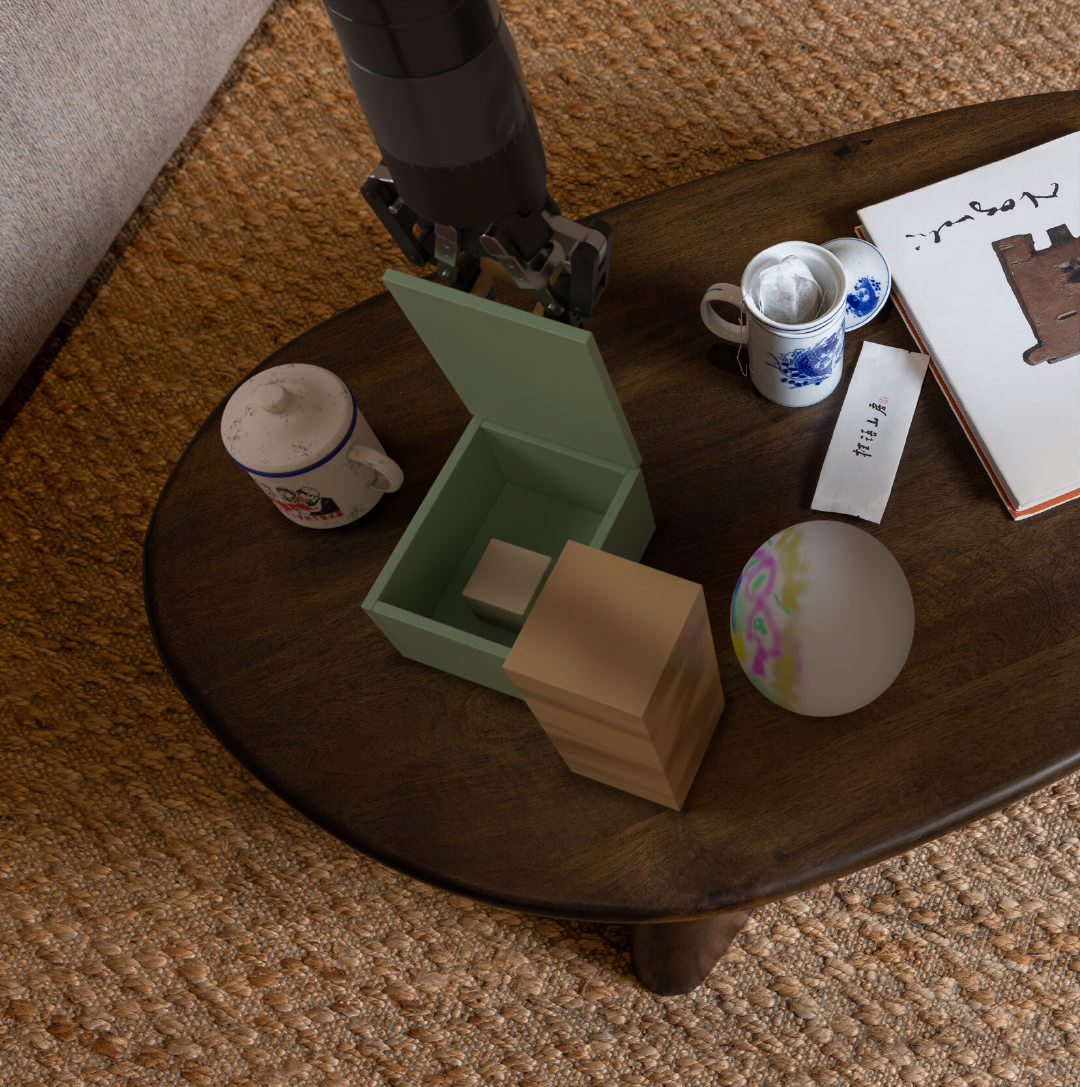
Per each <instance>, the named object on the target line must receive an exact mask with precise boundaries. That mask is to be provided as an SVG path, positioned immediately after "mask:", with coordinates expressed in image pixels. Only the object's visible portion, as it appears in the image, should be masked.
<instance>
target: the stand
mask: <svg viewBox="0 0 1080 1087" xmlns="http://www.w3.org/2000/svg"><path fill="white" fill-rule="evenodd" d="M712 634H713V633H712V630H711V623H710V619H709V613H708V609H707V602H706V599H705V593H704V587H703V585H702V584H700V583H697V582H694V581H691V580H689V579H685V578H683V577H679V576H677V575H675V574H671V573H668V572H666V571H662V570H659V569H658V568H657V569H656V568H653V567H650V566H648V565H645V564H642V563H640V562H639V563H636V562H633V561H630V560H627V559H624V558H622V557H619V556H616V555H613V554H610V553H607V552H604V551H601V550H598V549H595V548H592V547H589V546H587V545H584V544H581V543H578V542H575V541H572V540H568V542H567V544H566V546H565V547H564V549H563V551H562V553H561V555H560V557H559V559H558V561H557V563H556V565H555V567H554V569H553V570H552V572H551V574H550V576H549V578H548V580H547V582H546V584H545V586H544V588H543V590H542V592H541V593H540V595H539V597H538V599H537V601H536V603H535V605H534V607H533V609H532V611H531V613H530V615H529V616H528V618H527V620H526V622H525V624H524V626H523V628H522V630H521V632H520V634H519V636H518V638H517V639H516V641H515V643H514V645H513V647H512V649H511V651H510V653H509V655H508V657H507V659H506V661H505V663H504V664H503V668H504V670H505V671H506V673H507V674H508V676H509V678H510V679H511V681H512V682H513V684H514V685H515V687H516V688H517V690H518V691H519V693H520V694H521V696H522V697H523V699H524V700H523V701H524V702H525V704H526V705H527V706H528V708H529V710H530V711H531V713H532V714H533V716H534V717H535V719H536V721H537V722H538V724H539V725H540V726H541V727H542V729H543V731H544V733H545V734H546V735H547V737H548V739H549V740H550V741H551V743H552V744H553V746H554V748H555V749H556V751H557V752H558V753H559V755H560V756H561V758H562V759H563V761H564V762H565V764H566V765H567V767H568V769H569V771H570V772H573V773H575V774H577V775H580V776H583V777H585V778H588V779H591V780H594V781H596V782H599V783H602V784H604V785H607V786H610V787H613V788H615V789H618V790H620V791H623V792H626V793H629V794H631V795H634V796H636V797H639V798H643V799H644V800H648V801H650V802H653V803H656V804H658V805H661V806H664V807H666V808H669V809H671V810H675V811H677V812H681V810H682V808H683V806H684V803H685V801H686V799H687V796H688V794H689V792H690V789H691V787H692V785H693V782H694V779H695V778H696V775H697V773H698V770H699V768H700V765H701V763H702V761H703V759H704V756H705V753H706V751H707V749H708V747H709V744H710V742H711V739H712V737H713V735H714V733H715V730H716V728H717V725H718V724H719V721H720V718H721V716H722V713H723V711H724V709H725V706H726V701H725V695H724V690H723V686H722V680H721V676H720V670H719V665H718V660H717V655H716V649H715V644H714V640H713V635H712Z"/></svg>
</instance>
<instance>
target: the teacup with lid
mask: <svg viewBox="0 0 1080 1087" xmlns="http://www.w3.org/2000/svg"><path fill="white" fill-rule="evenodd" d="M224 408H225V409H224V410H223V414H222V417H221V422H220V435H221V440H222V444H223V447H224V449H225V451H226V453H227V455H228V456H229V457H230V458H229V459H231V460H232V461H233V462H234V463H235V464H236V465H237V466H238V467H240V468H241V469H243V470H244V471H246V472H247V473H248V475H249V476H250V477H251V478H252V480H254V482H255V483H256V484H257V485H258V486H259V488H261V490H262V491H263V492H264V494H265V495H267V497H268V498H269V499H270V500H271V502H272V503H273V504H274V505H275V506H276V507H277V509H278V510H279V511H280V512H281V513H282V514H283V515H284V516H285V517H286V518H287V519H289V520H290V521H292V522H294V523H295V524H297V525H300V526H302V527H306V528H311V529H319V530H320V529H322V530H323V529H333V528H338V527H342V526H345V525H348V524H350V523H353V522H355V521H357V520H359V519H361V518H362V517H363V516H364V515H366V514H368V513H369V512H370V511H371V510H372V509H373V508H375V507H376V505H377V504H378V502H380V500H381V499H382V497H383V495H384V493H394V492H396V491H398V490H399V489H400V488H401V486H402V484H403V483H404V480H405V479H404V478H405V476H404V471H403V469H401V467H400V466H399V465H398V463H397V462H396V461H395V460H393V459H392V458H391V457H389V456H388V455H387V452H386V451H385V449H384V447H383V445H382V444H381V443H380V441H379V439H378V437H377V435H375V433H374V431H373V430H372V428H371V427H370V424H369V423H368V421H367V420H366V418H365V417H364V415H363V413H362V412H361V410H360V409H359V407H358V405H357V401H356V397H355V395H354V393H353V390H352V389H351V387H350V386H349V384H348V383H347V382H345V380H344V379H342V378H341V377H340V376H339V375H338V374H335V373H334V372H332V371H331V370H329V369H327V368H324V367H321V366H318V365H314V364H308V363H287V364H281V365H277V366H272V367H271V368H268V369H265V370H263V371H261V372H259V373H257V374H255V375H253V376H251V377H250V378H249V379H247V380H246V381H245V382H244V383H242V384H241V386H239V387H238V388H237V390H236V391H234V393H233V394H232V395H231V397H230V398H229V399H228V402H227V404H226V406H225V407H224Z"/></svg>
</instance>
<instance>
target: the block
mask: <svg viewBox="0 0 1080 1087" xmlns="http://www.w3.org/2000/svg"><path fill="white" fill-rule="evenodd" d="M554 567H555V563H554V561H553V558H552V557H549V556H546V555H543V554H540V553H537V552H534V551H531V550H528V549H525V548H522V547H519V546H516V545H513V544H510V543H507V542H504V541H501V540H498V539H495V538H492V539H491V541H490V543H489V544H488V546H487V548H486V550H485V552H484V554H483V556H482V557H481V559H480V561H479V563H478V565H477V567H476V568H475V570H474V572H473V574H472V576H471V578H470V580H469V581H468V583H467V585H466V587H465V589H464V591H463V593H462V596H463V597H464V599H465V600H466V602H467V603H468V605H469V607H470V608H471V610H472V611H473V613H474V614H475V616H476V617H477V619H478V620H479V621H481V622H484V623H487V624H490V625H493V626H496V627H499V628H502V629H505V630H507V631H510V632H513V633H516V634H520V632H521V630H522V628H523V626H524V624H525V622H526V620H527V618H528V616H529V615H530V613H531V611H532V609H533V607H534V605H535V603H536V601H537V599H538V597H539V595H540V593H541V592H542V590H543V588H544V586H545V584H546V582H547V580H548V578H549V576H550V574H551V572H552V570H553V569H554Z"/></svg>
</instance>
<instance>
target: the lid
mask: <svg viewBox="0 0 1080 1087" xmlns="http://www.w3.org/2000/svg"><path fill="white" fill-rule="evenodd" d="M480 258H481V259H480V269H481V273H480V275H479V277H478V278H477V280H476V282H475V284H474V286H473V288H472V289H471V291H470V293H466V292H463V291H459V290H456V289H453V288H451V286H447V285H443V284H440V283H437V282H434V281H431V280H428V279H425V278H422V277H419V276H415V275H412V274H410V273H409V274H408V273H405V272H402V271H399V270H396V269H393V268H389V267H388V268H386V271H385V272H384V273H383V276H382V277H381V280H382V282H383V283H384V285H385V286H386V287H387V290H388V291H389V292H390V294H391V295H392V297H393V298H394V300H395V301H396V303H397V304H398V306H399V308H400V309H401V310H402V312H403V313H404V315H405V317H406V318H407V319H408V321H409V323H410V324H411V325H412V327H413V328H414V330H415V331H416V333H417V335H418V336H419V337H420V339H421V340H422V342H423V344H424V345H425V347H426V348H427V350H428V351H429V354H431V356H432V357H433V359H434V360H435V362H436V363H437V365H438V366H439V368H440V369H441V371H442V372H443V374H444V376H445V377H446V379H447V380H448V382H449V383H450V385H451V386H452V387H453V389H454V390H455V392H456V393H457V395H458V397H459V399H461V401H462V403H463V404H464V406H465V408H466V409H467V411H468V412H469V413H470V414H471V415H473V416H474V415H475V416H478V417H481V418H485V419H488V420H491V421H494V422H497V423H500V424H503V425H506V426H509V427H512V428H515V429H518V430H521V431H524V432H527V433H530V434H533V435H536V436H539V437H542V438H545V439H548V440H551V441H554V442H557V443H560V444H563V445H566V446H569V447H572V448H575V449H578V450H581V451H584V452H587V453H590V454H593V455H596V456H599V457H602V458H605V459H608V460H611V461H614V462H617V463H620V464H623V465H626V466H629V467H632V468H635V469H638V468H640V466H641V464H642V462H643V457H642V454H641V453H640V450H639V448H638V445H637V443H636V440H635V437H634V434H633V432H632V430H631V427H630V425H629V422H628V420H627V417H626V415H625V412H624V409H623V407H622V404H621V402H620V400H619V397H618V394H617V392H616V389H615V387H614V384H613V381H612V379H611V377H610V375H609V371H608V368H607V366H606V365H605V362H604V360H603V357H602V354H601V351H600V349H599V346H598V344H597V341H596V339H595V337H594V334H593V332H592V331H589V330H585V329H580V328H576V327H573V326H570V325H567V324H564V323H561V322H557V321H554V320H551V319H548V318H545V316H544V313H543V310H544V308H543V307H542V305H541V304H540V303H539V301H538V300H537V301H538V302H537V303H536V305H535V307H534V309H533V311H532V312H529V311H525V310H523V309H519V308H517V307H512V306H509V305H507V304H503V303H501V302H497V301H495V302H494V301H491V300H488V299H485V298H486V296H487V294H488V292H489V290H490V289H491V287H493V286H494V283H495V281H496V280H497V281H501V282H503V283H507V284H510V285H514V286H516V287H518V285H517V284H516V283H515V281H514V280H513V279H512V277H511V276H510V275H509V273H508V272H507V271H506V269H505V268H504V267H503V265H502V264H501V263H499V262H497V261H495V260H493V259H491V258H488V257H480ZM528 263H529V262H527V264H528ZM549 281H550V284H551V286H553V284H554V283H555V281H556V277H555V276H554V275H553V273H552V274H551V276H550V279H549Z"/></svg>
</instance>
